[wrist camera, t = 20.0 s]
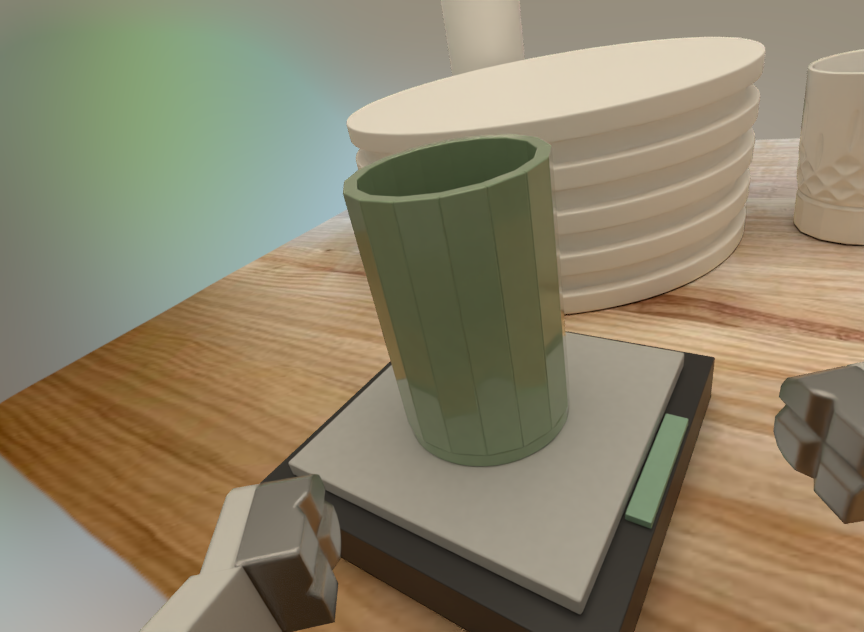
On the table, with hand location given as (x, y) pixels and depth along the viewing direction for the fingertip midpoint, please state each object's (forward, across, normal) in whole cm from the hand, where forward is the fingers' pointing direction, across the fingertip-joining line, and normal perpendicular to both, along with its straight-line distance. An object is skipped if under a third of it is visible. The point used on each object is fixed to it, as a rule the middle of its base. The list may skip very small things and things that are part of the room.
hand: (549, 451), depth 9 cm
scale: (+10, 0, +10) cm, 14 cm away
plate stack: (+34, -8, +10) cm, 36 cm away
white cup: (+24, -26, +10) cm, 37 cm away
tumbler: (+10, 0, +7) cm, 12 cm away
